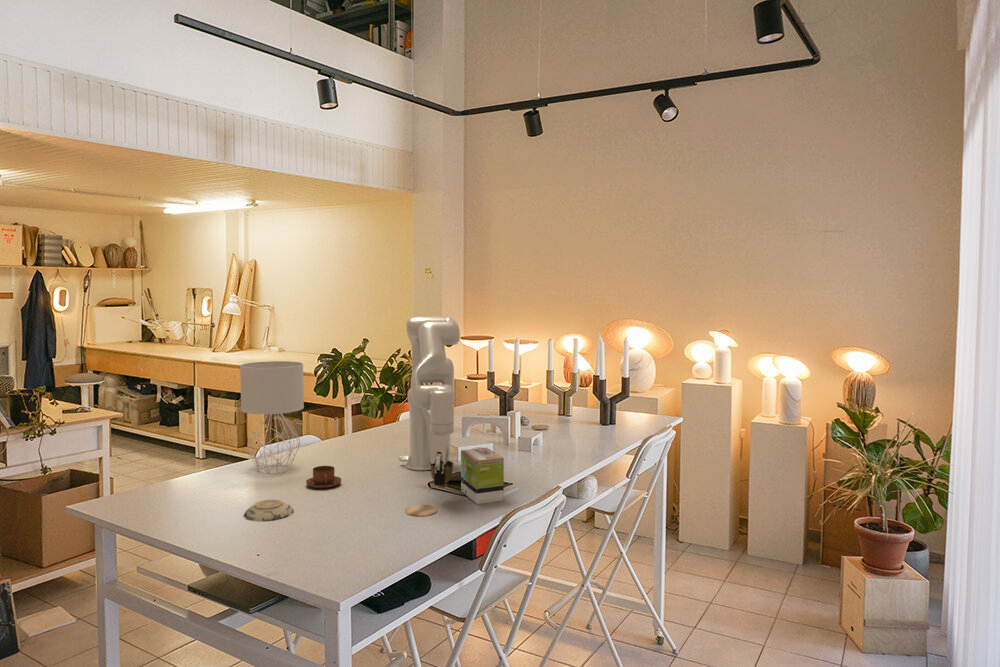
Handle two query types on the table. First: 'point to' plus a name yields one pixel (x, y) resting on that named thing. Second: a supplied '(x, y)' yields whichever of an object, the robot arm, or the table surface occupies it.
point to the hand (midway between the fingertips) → (441, 481)
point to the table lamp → (272, 397)
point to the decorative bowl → (268, 511)
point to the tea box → (482, 475)
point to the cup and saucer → (323, 477)
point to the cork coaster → (421, 510)
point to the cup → (447, 470)
